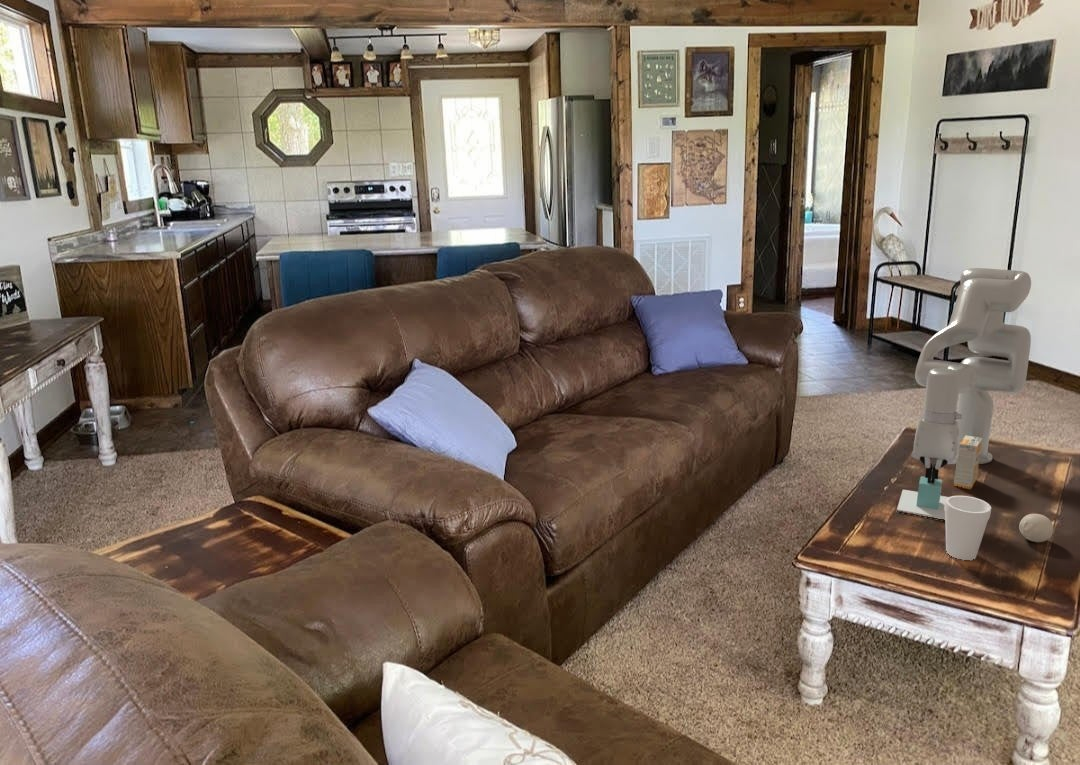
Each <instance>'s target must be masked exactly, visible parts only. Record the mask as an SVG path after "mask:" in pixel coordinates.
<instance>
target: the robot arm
mask: <svg viewBox="0 0 1080 765" xmlns="http://www.w3.org/2000/svg"><path fill="white" fill-rule="evenodd" d="M959 281H960V288H959V291H958V294H957V297H956V300H955V303H954V307H953V309H952V314H951V316H950V319H949V323H948V325H947V326H946V327H944V328H942V329H941V330H939V331H937V332H936V333H935V334H933V335H932V336H931V337H930V338H929V339H928V340H927V341H926V342H925V344H924V345H923V346H922V349H921V352H920V355H919V358H918V361H917V364H916V367H915V372H914V373H915V374H914V377H915V381H916V384H918V385H920V386H921V387H926V388H925V396H924V404H923V412H922V416H920V417H919V419H918V421H917V425H916V430H915V436H914V442H913V449H912V450H913V451H912V452H911V458H913V459H916V460H919V461H920V462H921V463H922V465H923V466H924V467H925V476H924V477H925V478H928V481H927V482H929V483H930V482H932V483H934V481H935V479H936V480H938V479H939V472H940V469H941V468H942V467H945V466H946V465H955V464H957V457H958V449H959V443H960V442H961V440H962V439H963V437H964V436H965V435H966V436H973V437H979V438H982V445H981V452H980V458H979V465H982V464H988V463H990V462H992V460H993V455H992V453H990V452H989V451H988V448H989V444H990V443H989V441H990V435H991V434H990V433H991V429H992V428H991V427H992V421H993V415H994V414H993V413H994V406H995V404H994V400H993V398H992V397H991V395H990V393H989V392H997V393H1003V394H1009V395H1017V394H1020V393H1021V392H1022V391H1023V390H1024V388H1025V386H1026V381H1027V374H1028V367H1029V359H1030V351H1031V343H1032V341H1031V340H1032V339H1031V338H1032V337H1031V336H1032V335H1031V333H1030V330H1029V329H1028V328H1027V327H1026V326H1023V325H1017V324H1006V323H1004V316H1005V313H1012V312H1015V311H1017V309H1019V307H1020V306H1021V305H1022V303H1024V301H1025V300H1026V299H1027V298H1028V296H1029V294H1030V291H1031V287H1032V278H1031V276H1030V274H1029V273H1028V272H1026V271H1024V270H1023V271H1021V270H1012V269H1011V270H1010V269H997V268H989V267H988V268H985V267H972V268H967V269H965V270H963V271H962V272H961V275H960V279H959ZM966 342H967V347H968V349H969V351H971V352H972V353H975V354H979V355H985V357H984V356H969V357H966V358H964V359H963V360H961V362H952V361H949V360H948V361H946V360H939V359H934V357H935V356H936V355H937V354H938V353H939V352H940V351H942V350H944V349H946V348H948V347H952V346H954V345H958V344H962V343H966ZM986 356H992V357H993V356H994V357H999V358H1000V357H1001V358H1007V359H1008V360H1005V359H998V358H992V357H986ZM932 459H936V462H935V463H934V464H933V463H932ZM931 478H932V479H931Z"/></svg>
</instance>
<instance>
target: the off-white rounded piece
mask: <svg viewBox="0 0 1080 765" xmlns="http://www.w3.org/2000/svg"><path fill="white" fill-rule="evenodd" d="M1018 529H1019V531H1020V534H1021V535H1022V536H1023V537H1024V538H1025V539H1027V540H1028V541H1031V542H1035V543H1044V542H1046V541H1048V540H1049V539H1050V538H1051V537H1052V535H1053V533H1054V526H1053V523H1052V521H1051V520H1050V519H1049V518H1048V517H1047V516H1045V515H1044V514H1040V513H1029V514H1027V515H1025V516H1023V518H1021V520H1020V522H1019V526H1018Z"/></svg>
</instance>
